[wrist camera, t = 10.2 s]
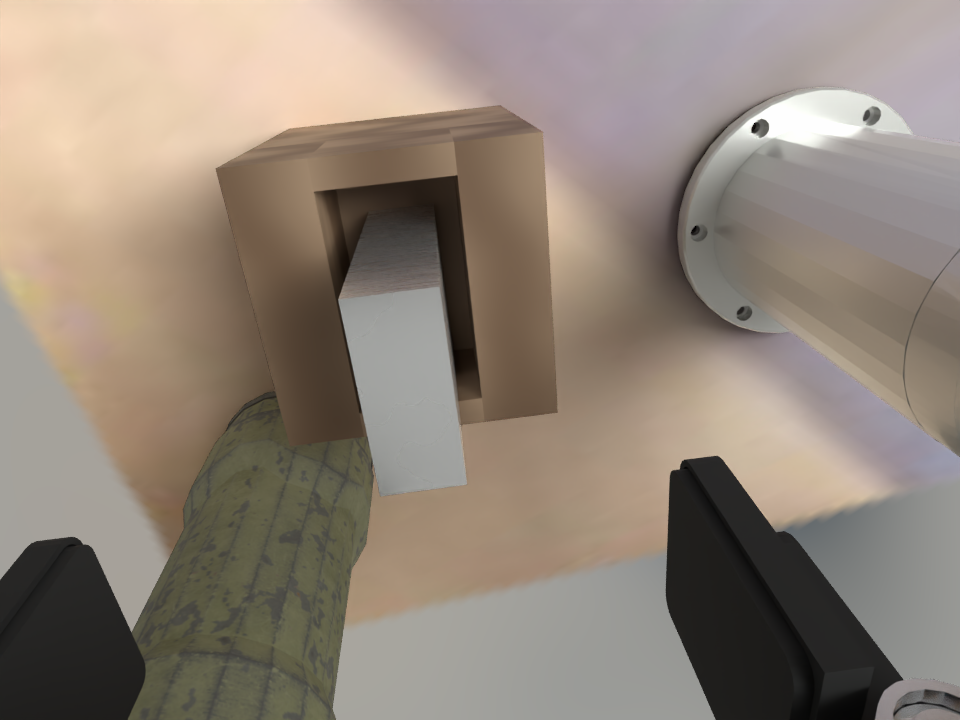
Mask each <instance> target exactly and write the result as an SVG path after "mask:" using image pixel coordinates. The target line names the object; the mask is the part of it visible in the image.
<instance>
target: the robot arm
mask: <svg viewBox="0 0 960 720" xmlns="http://www.w3.org/2000/svg"><path fill="white" fill-rule="evenodd" d="M864 113H865V114H864ZM863 115H864V117H863ZM754 123H756V128H755V130H754V131H753V132H751V128H752V125H753V124H754ZM695 226H696V227H697V229H696V231H695V232H694V233H692V234H691V230H692V229H693V228H694V227H695ZM677 239H678V248H679V257H680V260H681V263H682V267H683V270H684V273H685V276H686V278H687V280H688V281H689V283H690V285H691V286H692V288H693V290H694V291H695V293H696V294H697V296H698V297H699V298H700V299H701V300H702V301H703V302H704V303H705V304H706V305H707V306H708V307H709V308H710V309H712V310H713V311H714V312H715V313H717V314H718V315H719V316H720V317H722V318H723V319H725V320H726V321H728V322H730V323H732V324H734V325H736V326H738V327H741V328H745V329H749V330H753V331H757V332H765V333H786V332H791V333H793V334H794V335H795V336H797V337H798V338H799V339H801V340H802V341H803V342H805V343H806V344H807V345H809V346H810V347H811V348H813V349H814V350H816V351H817V352H818V353H820V354H821V355H822V356H824V357H825V358H826V359H828V360H829V361H830V362H832V363H833V364H834V365H836V366H837V367H838V368H840V369H841V370H842V371H844V372H845V373H846V374H848V375H849V376H850V377H852V378H853V379H854V380H856V381H857V382H858V383H860V384H861V385H862V386H864V387H865V388H866V389H868V390H869V391H870V392H872V393H873V394H874V395H876V396H877V397H878V398H880V399H881V400H882V401H884V402H885V403H887V404H888V405H889V406H891V407H892V408H893V409H895V410H896V411H897V412H899V413H900V414H901V415H903V416H904V417H905V418H907V419H908V420H909V421H911V422H912V423H913V424H915V425H916V426H917V427H919V428H920V429H921V430H923V431H924V432H925V433H927V434H928V435H929V436H931V437H932V438H933V439H935V440H936V441H938V442H940V443H941V444H943V445H944V446H945V447H947V448H948V449H949V450H951V451H952V452H953V453H955V454H956V455H957V456H959V457H960V142H954V141H948V140H941V139H935V138H929V137H923V136H916V135H914V134H913V132H912V131H911V129H910V128H909V126H908V125H907V123H906V122H905V121H904V119H903V118H902V116H900V115H899V114H898V113H897V112H896V111H895V110H894V109H892V108H891V107H890V106H889V105H888V104H887V103H885V102H883V101H881V100H879V99H877V98H875V97H873V96H871V95H869V94H867V93H865V92H860V91H856V90H851V89H847V88H839V87H813V88H804V89H797V90H794V91H791V92H787V93H784V94H781V95H778V96H775V97H772V98H771V99H769V100H767V101H765V102H763V103H761V104H759V105H757V106H755V107H754V108H752V109H750V110H749V111H747V112H746V113H745V114H743V115H742V116H741V117H740V118H738V119H737V120H736V121H734V122H733V123H732V124H730V125H729V126H728V127H727V128H726V129H725V130H724V131H723V133H722V134H721V135H720V136H719V137H718V138H717V139H716V140H715V141H714V142H713V143H712V144H711V145H710V147H709V148H708V150H707V151H706V153H705V154H704V156H703V157H702V159H701V160H700V162H699V163H698V165H697V166H696V168H695V170H694V172H693V175H692V177H691V179H690V181H689V183H688V185H687V188H686V190H685V193H684V197H683V201H682V205H681V208H680V212H679V221H678V233H677ZM739 309H740V310H739ZM738 310H739V311H738ZM666 600H667V605H668V609H669V613H670V615H671V618H672V620H673V623H674V625H675V627H676V629H677V632H678V634H679V636H680V638H681V641H682V643H683V646H684V648H685V650H686V652H687V655H688V657H689V659H690V662H691V663H692V666H693V668H694V670H695V673H696V675H697V678H698V679H699V682H700V685H701V687H702V689H703V691H704V694H705V696H706V698H707V701H708V703H709V705H710V707H711V710H712V712H713V714H714V717H715V719H716V720H960V687H959V686H956V685H953V684H949V683H945V682H942V681H938V680H935V679H921V678H912V679H907V680H903V678H902V677H901V676H900V675H899V673H898V672H897V671H896V669H895V668H894V667H893V665H892V664H891V663H890V661H889V660H888V659H887V658H886V656H885V655H884V654H883V652H882V651H881V650H880V648H879V647H878V646H877V644H876V643H875V642H874V641H873V639H872V638H871V637H870V635H869V634H868V633H867V631H866V630H865V629H864V628H863V626H862V625H861V624H860V622H859V621H858V620H857V618H856V617H855V616H854V614H853V613H852V612H851V611H850V609H849V608H848V607H847V606H846V604H845V603H844V601H843V600H842V599H841V598H840V596H839V595H838V594H837V592H836V591H835V590H834V588H833V587H832V586H831V584H830V583H829V582H828V580H827V579H826V578H825V577H824V575H823V574H822V573H821V571H820V570H819V569H818V567H817V566H816V565H815V564H814V562H813V561H812V560H811V559H810V557H809V556H808V554H807V553H806V552H805V550H804V549H803V548H802V546H801V545H800V544H799V543H798V541H797V540H796V539H795V538H794V537H793V536H792V535H791V534H789V533H787V532H785V531H783V532H775V530H774V529H773V528H772V526H771V525H770V524H769V522H768V521H767V519H766V518H765V517H764V515H763V514H762V513H761V511H760V510H759V509H758V507H757V506H756V505H755V503H754V502H753V500H752V499H751V498H750V496H749V495H748V494H747V492H746V491H745V490H744V488H743V487H742V485H741V484H740V483H739V481H738V480H737V479H736V477H735V476H734V475H733V473H732V472H731V470H730V469H729V468H728V466H727V465H726V464H725V462H724V461H723V460H722V459H721V458H720V457H718V456H712V457H704V458H696V459H688V460H683V461H682V463H681V465H680V470H673V471H671V474H670V488H669V515H668V543H667V571H666ZM145 675H146V667H145V662H144V659H143V657H142V654H141V652H140V650H139V648H138V646H137V644H136V641H135V639H134V637H133V635H132V633H131V631H130V628H129V626H128V624H127V622H126V620H125V618H124V615H123V613H122V611H121V609H120V607H119V604H118V602H117V600H116V598H115V596H114V594H113V592H112V589H111V587H110V585H109V583H108V581H107V579H106V576H105V575H104V572H103V570H102V568H101V565H100V564H99V561H98V559H97V557H96V555H95V552H94V551H93V549H92V548H91V547H90V546H89V545H83V544H82V542H81V541H80V540H79V539H77V538H75V537H68V538H59V539H52V540H44V541H36V542H34V543H31V544H30V545H29V546H28V547H27V548H26V549H25V550H24V551H23V553H22V554H21V555H20V557H19V558H18V559H17V560H16V561H15V562H14V564H13V565H12V566H11V567H10V569H9V570H8V571H7V572H6V574H5V575H4V576H3V577H2V579H1V580H0V720H128V718H129V716H130V713H131V711H132V709H133V707H134V705H135V702H136V700H137V698H138V696H139V693H140V691H141V689H142V687H143V684H144V681H145Z"/></svg>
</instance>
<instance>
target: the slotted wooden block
mask: <svg viewBox="0 0 960 720" xmlns="http://www.w3.org/2000/svg"><path fill="white" fill-rule="evenodd" d="M216 172H217V175H218V179H219V183H220V187H221V190H222V194H223V198H224V201H225V205H226V209H227V213H228V216H229V220H230V224H231V228H232V231H233V235H234V239H235V243H236V246H237V250H238V254H239V258H240V261H241V265H242V269H243V273H244V276H245V280H246V284H247V288H248V291H249V295H250V299H251V303H252V306H253V310H254V314H255V318H256V321H257V325H258V329H259V332H260V336H261V340H262V344H263V347H264V351H265V355H266V359H267V362H268V366H269V370H270V374H271V377H272V381H273V385H274V389H275V392H276V396H277V400H278V404H279V407H280V411H281V415H282V419H283V422H284V426H285V430H286V434H287V437H288V441H289V445H290V446H296V445H304V444H312V443H320V442H328V441H336V440H344V439H352V438H360V437H367V432H366V427H365V423H364V418H363V413H362V409H361V404H360V399H359V395H358V390H357V385H356V380H355V376H354V371H353V366H352V362H351V357H350V352H349V348H348V343H347V338H346V334H345V329H344V324H343V320H342V315H341V310H340V306H339V301H338V299H339V296H340V293H341V290H342V287H343V284H344V282H345V279H346V276H347V273H348V270H349V267H350V264H351V261H352V259H353V256H354V253H355V250H356V247H357V244H358V241H359V238H360V236H361V233H362V230H363V227H364V224H365V221H366V218H367V216H368V213H369V211H377V210H385V209H393V208H401V207H409V206H417V205H425V204H433V205H434V212H435V219H436V227H437V234H438V241H439V249H440V256H441V263H442V271H443V278H444V285H445V293H446V300H447V307H448V315H449V322H450V329H451V337H452V344H453V354H454V363H455V373H456V383H457V392H458V402H459V411H460V421H461V425H463V424H471V423H479V422H486V421H494V420H502V419H510V418H518V417H526V416H534V415H542V414H550V413H558V412H557V393H556V374H555V355H554V336H553V317H552V298H551V279H550V259H549V240H548V221H547V202H546V183H545V164H544V145H543V132H542V131H541V130H539V129H537V128H536V127H534V126H533V125H531V124H529V123H528V122H526V121H525V120H523V119H521V118H520V117H518V116H516V115H515V114H513V113H512V112H510V111H508V110H507V109H505V108H504V107H502V106H491V107H482V108H473V109H464V110H455V111H446V112H437V113H428V114H419V115H410V116H401V117H392V118H383V119H374V120H365V121H356V122H347V123H338V124H329V125H320V126H311V127H302V128H293V129H288V130H287V131H285V132H283V133H281V134H279V135H277V136H275V137H274V138H272V139H270V140H268V141H266V142H264V143H262V144H261V145H259V146H257V147H255V148H253V149H251V150H249V151H248V152H246V153H244V154H242V155H240V156H238V157H236V158H235V159H233V160H231V161H229V162H227V163H225V164H223V165H222V166H220V167H218V168H216Z"/></svg>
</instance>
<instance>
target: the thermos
mask: <svg viewBox="0 0 960 720" xmlns="http://www.w3.org/2000/svg"><path fill="white" fill-rule="evenodd" d="M372 465H373V460H372V455H371V451H370V446H369V441H368V437H360V438H352V439H344V440H336V441H328V442H320V443H312V444H304V445H296V446H290V445H289V441H288V437H287V434H286V430H285V426H284V422H283V419H282V415H281V411H280V407H279V404H278V400H277V396H276V392H269V393H265V394H264V395H262V396H260V397H258V398H256V399H254V400H252V401H250V402H248V403H246V404H245V405H244V406H243V407H242V409H241V410H240V411H239V412H238V413H237V414H236V415H235V416H234V417H233V418H232V419H231V421H230V423H229V425H228V428H227V430H226V432H225V433H224V434H223V435H222V436H221V438H220V439H219V440H218V441H217V442H216V443H215V445H214V447H213V449H212V450H211V452H210V454H209V456H208V458H207V460H206V462H205V463H204V465H203V467H202V469H201V471H200V473H199V475H198V476H197V478H196V480H195V482H194V484H193V486H192V488H191V490H190V493H189V496H188V498H187V501H186V503H185V506H184V509H183V515H184V530H183V532H182V534H181V536H180V538H179V540H178V542H177V544H176V546H175V548H174V550H173V552H172V554H171V556H170V558H169V560H168V562H167V564H166V566H165V567H164V569H163V571H162V573H161V575H160V577H159V579H158V581H157V583H156V585H155V587H154V589H153V591H152V593H151V595H150V597H149V599H148V601H147V603H146V605H145V607H144V609H143V611H142V613H141V615H140V617H139V619H138V621H137V623H136V625H135V627H134V629H133V631H132V635H133V637H134V639H135V641H136V644H137V646H138V648H139V650H140V652H141V654H142V657H143V659H144V662H145V667H146V675H145V681H144V684H143V687H142V689H141V691H140V693H139V696H138V698H137V700H136V702H135V705H134V707H133V709H132V711H131V713H130V716H129V718H128V720H336V718H335V715H334V712H333V709H332V708H333V700H334V693H335V686H336V679H337V672H338V665H339V657H340V650H341V643H342V636H343V628H344V621H345V614H346V607H347V600H348V592H349V585H350V578H351V571H352V568H353V566H354V565H355V563H356V562H357V560H358V558H359V556H360V554H361V552H362V550H363V549H364V547H365V545H366V540H367V532H368V523H369V515H370V506H371V497H372V488H373V477H374V475H373V472H372Z"/></svg>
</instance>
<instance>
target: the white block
mask: <svg viewBox="0 0 960 720" xmlns="http://www.w3.org/2000/svg"><path fill="white" fill-rule="evenodd" d="M338 301H339V306H340V310H341V315H342V320H343V324H344V329H345V334H346V338H347V343H348V348H349V352H350V357H351V362H352V366H353V371H354V376H355V380H356V385H357V390H358V395H359V399H360V404H361V409H362V413H363V418H364V423H365V427H366V432H367V437H368V441H369V446H370V451H371V455H372V460H373V465H374V469H375V474H376V479H377V484H378V488H379V493H380V496H387V495H394V494H401V493H409V492H416V491H424V490H431V489H438V488H446V487H453V486H460V485H467V479H466V469H465V460H464V450H463V440H462V431H461V421H460V411H459V402H458V392H457V383H456V373H455V363H454V354H453V344H452V337H451V329H450V322H449V315H448V307H447V300H446V293H445V285H444V278H443V271H442V263H441V256H440V249H439V241H438V234H437V227H436V219H435V212H434V205H433V204H425V205H417V206H409V207H401V208H393V209H385V210H377V211H369V213H368V216H367V218H366V221H365V224H364V227H363V230H362V233H361V236H360V238H359V241H358V244H357V247H356V250H355V253H354V256H353V259H352V261H351V264H350V267H349V270H348V273H347V276H346V279H345V282H344V284H343V287H342V290H341V293H340V296H339V299H338Z"/></svg>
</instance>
